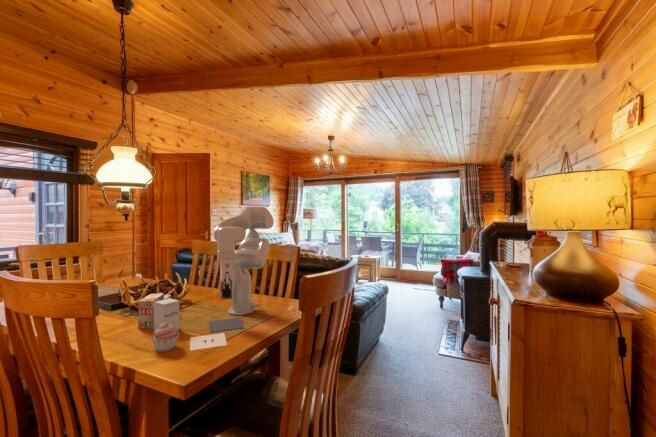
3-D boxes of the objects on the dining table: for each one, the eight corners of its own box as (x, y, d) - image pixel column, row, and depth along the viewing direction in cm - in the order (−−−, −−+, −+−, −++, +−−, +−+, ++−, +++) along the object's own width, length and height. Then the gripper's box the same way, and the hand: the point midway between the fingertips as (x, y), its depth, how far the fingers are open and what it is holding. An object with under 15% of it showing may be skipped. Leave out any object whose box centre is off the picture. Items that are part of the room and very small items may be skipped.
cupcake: (175, 353, 113) (175, 325, 113) (147, 355, 112) (147, 327, 111) (182, 342, 123) (182, 317, 122) (155, 344, 121) (155, 318, 120)
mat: (240, 318, 151) (240, 317, 151) (244, 328, 138) (244, 327, 138) (208, 322, 145) (208, 321, 145) (210, 333, 132) (210, 331, 132)
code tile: (224, 333, 132) (224, 332, 132) (227, 345, 120) (227, 344, 120) (190, 337, 127) (190, 337, 127) (189, 350, 115) (189, 350, 115)
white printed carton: (158, 313, 158) (158, 288, 158) (171, 313, 159) (171, 288, 159) (137, 329, 137) (137, 300, 137) (153, 328, 138) (153, 300, 137)
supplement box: (163, 335, 130) (163, 304, 130) (153, 331, 134) (153, 301, 134) (179, 329, 136) (179, 300, 136) (169, 326, 140) (169, 297, 140)
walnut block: (231, 296, 144) (231, 278, 144) (232, 298, 140) (232, 280, 140) (219, 297, 142) (219, 279, 142) (220, 299, 138) (220, 281, 138)
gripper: (237, 257, 135) (236, 299, 135) (232, 252, 150) (232, 291, 150) (218, 257, 132) (218, 301, 132) (216, 253, 147) (215, 292, 148)
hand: (225, 295), depth 141 cm, fingers closed on walnut block, 5 cm apart
